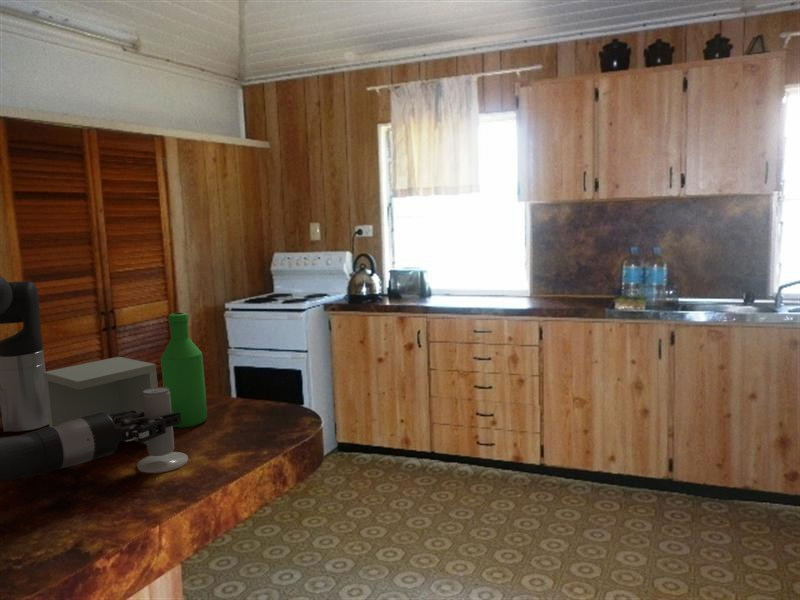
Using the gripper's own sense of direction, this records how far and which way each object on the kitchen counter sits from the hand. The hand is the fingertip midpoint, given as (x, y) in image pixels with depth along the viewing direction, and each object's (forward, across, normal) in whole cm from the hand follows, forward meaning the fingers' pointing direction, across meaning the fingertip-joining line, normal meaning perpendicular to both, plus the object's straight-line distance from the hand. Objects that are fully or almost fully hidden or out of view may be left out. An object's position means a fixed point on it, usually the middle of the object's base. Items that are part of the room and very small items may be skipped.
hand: (171, 415), depth 124 cm
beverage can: (-3, 0, +7) cm, 7 cm away
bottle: (+15, +18, +9) cm, 25 cm away
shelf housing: (-5, +16, +9) cm, 19 cm away
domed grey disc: (-2, 0, +9) cm, 9 cm away
